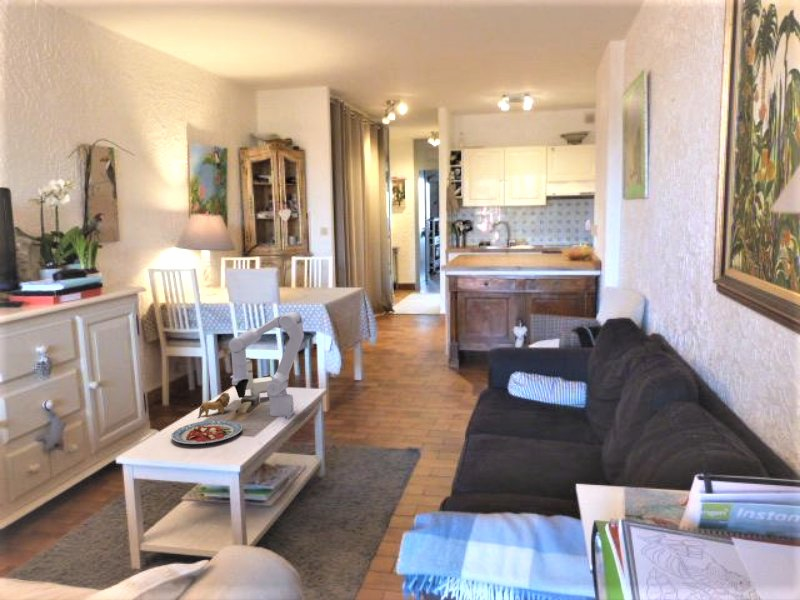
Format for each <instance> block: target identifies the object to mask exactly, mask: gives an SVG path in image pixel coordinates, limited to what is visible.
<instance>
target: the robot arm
mask: <svg viewBox="0 0 800 600" xmlns="http://www.w3.org/2000/svg"><path fill="white" fill-rule="evenodd" d="M303 322H304V320H303V317H302V316H301V314H300V313H299V312H298V311H296V310H291V311H289V312H287V313H284V314H280V315H278V316H276V317H274V318H272V319H270V320H269V321H267V322H266V323H264V324H262V325H261V326H259V327H258V328H256V327H248V328H247V329H246V331H244V332H242V333H239V334H237V336H235V337H233V338H232V339H231V340H230V341H229V342H228V348H229V350H230V351H231V363H232V364H231V365H232V366H231V367H232V375H231V376H230V377H229V378H230V379H232V380H231V386H234V388H235V390H236V394H237V397H238V399H242V398H244V397H245V395H246V392H247V391H246V386H247V383H248V381H249V380H248V379H246V378H248V376H249V375H248V372H247V364H246V358H247V352H246V350H247V349H246V348H248V347H249V346H251V345H253V344H254V343H256V342H258V341H260V340H261V338H262V335H263V334H266V333H267V332H270V331H271V330H273V329H275V328H277V329H282V330H283V331H284V332H285V333H286V334H287V335H288V337H289V340H288V342H287V344H286V347H285V350H284V352H283V355H282V357H281V359H280V362H279V364H278V366H277V368H276V369H277V370H276V372H275V373H274V375H273V376H272V377H273V378H272V380H271V382H269V383H268V384H267V387H266V390H267V392H266V394H267V393H268V394H269V398H268V400H269V414H270V416H271V417H284V418H285V419H290V418H291V417H292V416H293V414H294V413H295V409H294V408H295V407H294V406H295V405H294V397H293V394H291V393H287V388H288V387H289V378H290V372H291V369H292V367H293V365H294V361H295V360H296V357H297V355H298V352H299V350H300V347H301V346H302V342H303V340H304V337H305V334H304V328H303V327H304V326H303Z"/></svg>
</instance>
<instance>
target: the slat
mask: <svg viewBox="0 0 800 600" xmlns="http://www.w3.org/2000/svg"><path fill="white" fill-rule="evenodd" d="M252 406H253V401H245V402H244V403H243V404H242V405H239V406H238V407H237V408H238V414H245V413H246V412H247V411H248V409H250V408H251V407H252Z"/></svg>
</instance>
